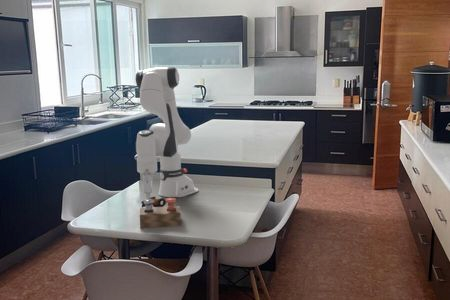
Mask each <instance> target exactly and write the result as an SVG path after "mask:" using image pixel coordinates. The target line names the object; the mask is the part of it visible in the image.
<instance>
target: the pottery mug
mask: <svg viewBox="0 0 450 300" xmlns="http://www.w3.org/2000/svg"><path fill="white" fill-rule="evenodd" d="M147 199H154V203H153V204H152V207H166V204H167V203H166V198H164V197H161V198H156V196H152V197H151V196H150V198H147ZM140 203H141V208H146V205H145V204H144V200H142V201H141V202H140ZM161 203H162V204H161Z"/></svg>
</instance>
